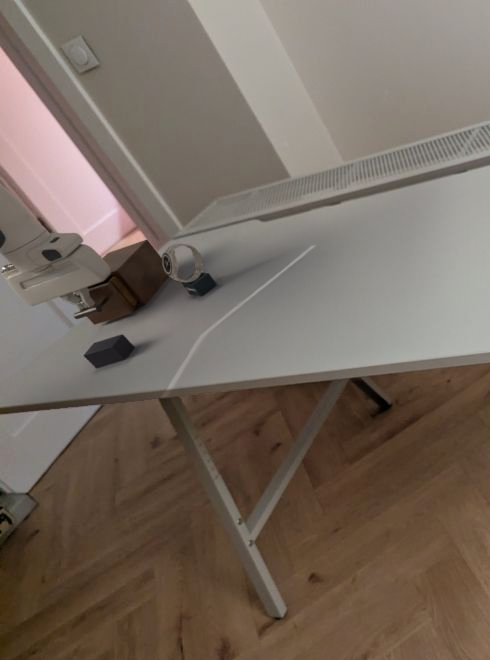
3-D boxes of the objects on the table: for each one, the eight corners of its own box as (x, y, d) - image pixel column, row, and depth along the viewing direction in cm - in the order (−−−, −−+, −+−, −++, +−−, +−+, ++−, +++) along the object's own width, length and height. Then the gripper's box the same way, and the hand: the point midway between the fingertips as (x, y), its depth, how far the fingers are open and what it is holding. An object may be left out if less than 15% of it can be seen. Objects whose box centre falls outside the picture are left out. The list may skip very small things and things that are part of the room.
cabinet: (145, 304, 124) (116, 270, 118) (104, 317, 126) (74, 284, 121) (172, 272, 135) (147, 239, 130) (134, 284, 138) (107, 252, 132)
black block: (95, 368, 106) (82, 355, 104) (106, 355, 109) (93, 342, 107) (125, 359, 105) (112, 346, 103) (134, 347, 108) (122, 333, 106)
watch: (182, 299, 119) (149, 257, 112) (211, 278, 123) (180, 236, 117) (194, 302, 116) (161, 259, 109) (223, 280, 120) (193, 237, 113)
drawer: (121, 325, 117) (95, 296, 112) (82, 337, 119) (55, 309, 114) (158, 281, 131) (137, 254, 126) (123, 292, 133) (100, 266, 128)
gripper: (-15, 277, 107) (41, 329, 115) (67, 246, 103) (119, 302, 111) (5, 260, 112) (58, 311, 120) (85, 230, 108) (133, 285, 116)
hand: (88, 307), depth 116 cm, fingers closed, pressing on drawer
